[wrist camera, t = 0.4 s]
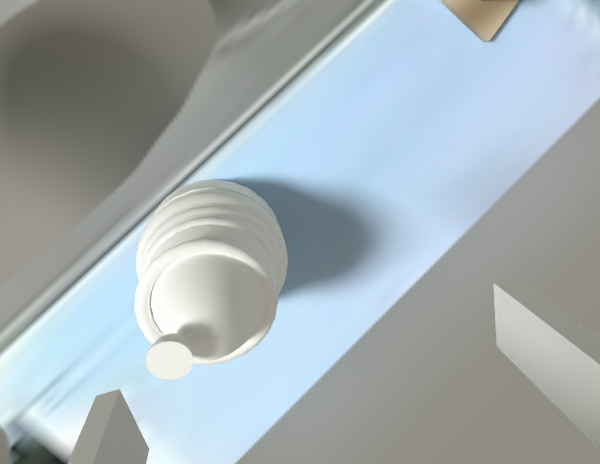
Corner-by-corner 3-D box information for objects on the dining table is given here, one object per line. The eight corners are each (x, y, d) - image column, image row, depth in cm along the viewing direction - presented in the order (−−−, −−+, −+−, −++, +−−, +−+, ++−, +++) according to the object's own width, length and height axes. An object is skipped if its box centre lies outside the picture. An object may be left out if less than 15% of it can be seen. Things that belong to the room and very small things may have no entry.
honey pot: (152, 305, 42) (99, 456, 25) (140, 178, 37) (66, 257, 20) (280, 300, 44) (311, 435, 27) (283, 179, 39) (321, 251, 22)
